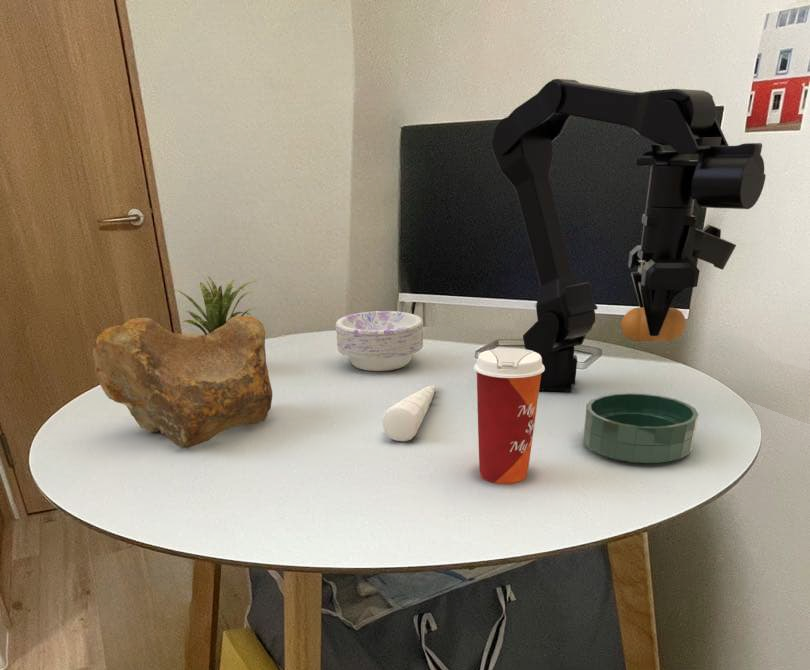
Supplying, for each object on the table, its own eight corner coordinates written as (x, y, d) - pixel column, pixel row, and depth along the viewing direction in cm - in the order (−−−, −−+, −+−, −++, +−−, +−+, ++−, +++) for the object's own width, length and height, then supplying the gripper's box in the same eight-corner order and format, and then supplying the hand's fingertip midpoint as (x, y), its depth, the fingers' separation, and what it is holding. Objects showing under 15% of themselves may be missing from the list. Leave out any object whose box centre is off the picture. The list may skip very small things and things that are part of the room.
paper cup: (534, 490, 79) (544, 366, 72) (466, 485, 80) (470, 363, 73) (537, 463, 86) (546, 347, 79) (474, 459, 87) (478, 345, 80)
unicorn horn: (457, 390, 111) (458, 360, 109) (416, 445, 92) (415, 409, 89) (428, 388, 113) (428, 358, 110) (381, 441, 93) (380, 406, 91)
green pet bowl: (583, 464, 85) (588, 424, 83) (581, 426, 96) (585, 391, 94) (698, 470, 83) (706, 430, 80) (682, 431, 94) (688, 395, 92)
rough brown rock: (121, 474, 87) (98, 356, 79) (104, 423, 99) (83, 316, 91) (300, 446, 96) (296, 337, 88) (264, 403, 108) (258, 304, 100)
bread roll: (621, 344, 96) (625, 310, 94) (617, 336, 100) (621, 304, 98) (685, 345, 95) (691, 311, 92) (679, 337, 98) (685, 304, 96)
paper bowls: (361, 381, 117) (359, 333, 113) (325, 361, 128) (321, 316, 125) (439, 367, 123) (439, 321, 119) (397, 349, 135) (396, 307, 131)
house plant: (289, 368, 125) (279, 271, 117) (233, 388, 115) (219, 283, 107) (231, 358, 132) (218, 265, 124) (174, 376, 122) (155, 277, 114)
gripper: (756, 211, 80) (729, 349, 87) (719, 200, 96) (699, 318, 103) (654, 212, 81) (636, 348, 89) (635, 202, 97) (621, 317, 105)
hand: (651, 331), depth 97 cm, fingers closed on bread roll, 4 cm apart
